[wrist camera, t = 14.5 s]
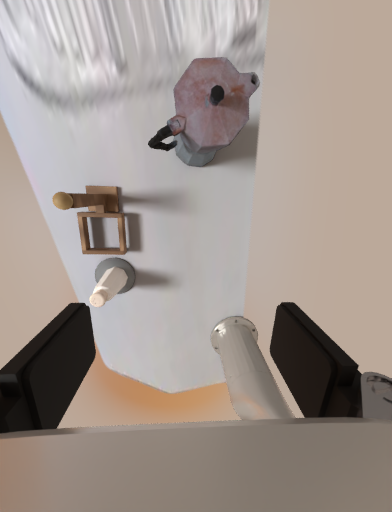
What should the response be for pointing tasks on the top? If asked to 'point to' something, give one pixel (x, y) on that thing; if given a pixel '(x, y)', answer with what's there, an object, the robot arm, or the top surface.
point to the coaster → (120, 264)
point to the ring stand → (95, 214)
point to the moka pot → (207, 110)
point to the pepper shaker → (108, 286)
